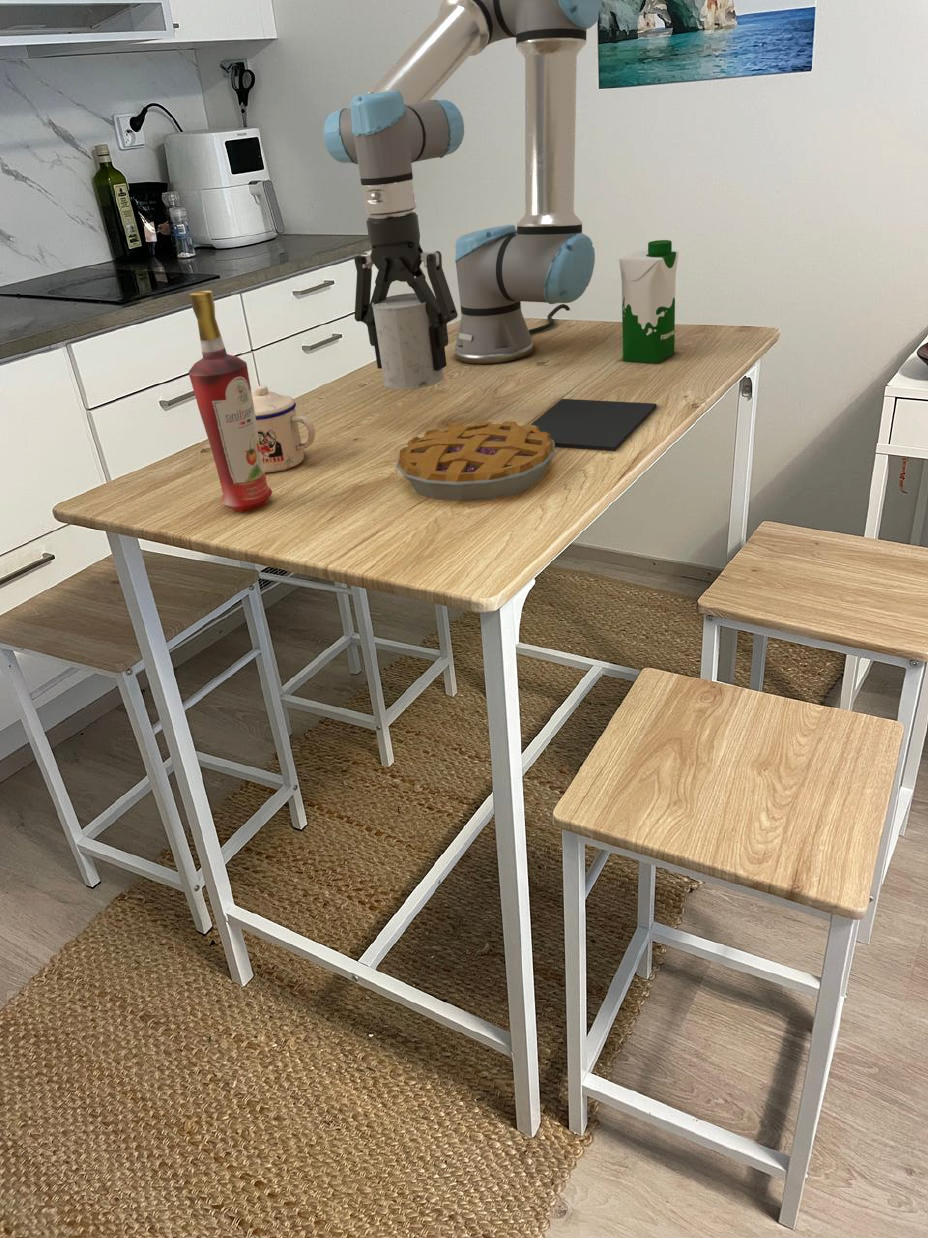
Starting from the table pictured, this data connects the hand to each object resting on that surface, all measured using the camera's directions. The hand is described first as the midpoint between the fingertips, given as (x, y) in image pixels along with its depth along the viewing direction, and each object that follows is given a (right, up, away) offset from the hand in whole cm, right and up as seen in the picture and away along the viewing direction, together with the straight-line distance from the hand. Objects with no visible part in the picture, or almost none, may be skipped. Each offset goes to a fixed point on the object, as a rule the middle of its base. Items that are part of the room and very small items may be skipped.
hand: (411, 366), depth 147 cm
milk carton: (+42, +9, +26) cm, 50 cm away
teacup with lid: (-19, -16, -5) cm, 26 cm away
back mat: (+27, -10, -4) cm, 29 cm away
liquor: (-21, -24, -19) cm, 37 cm away
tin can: (0, -2, +1) cm, 2 cm away
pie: (+10, -20, -17) cm, 28 cm away
